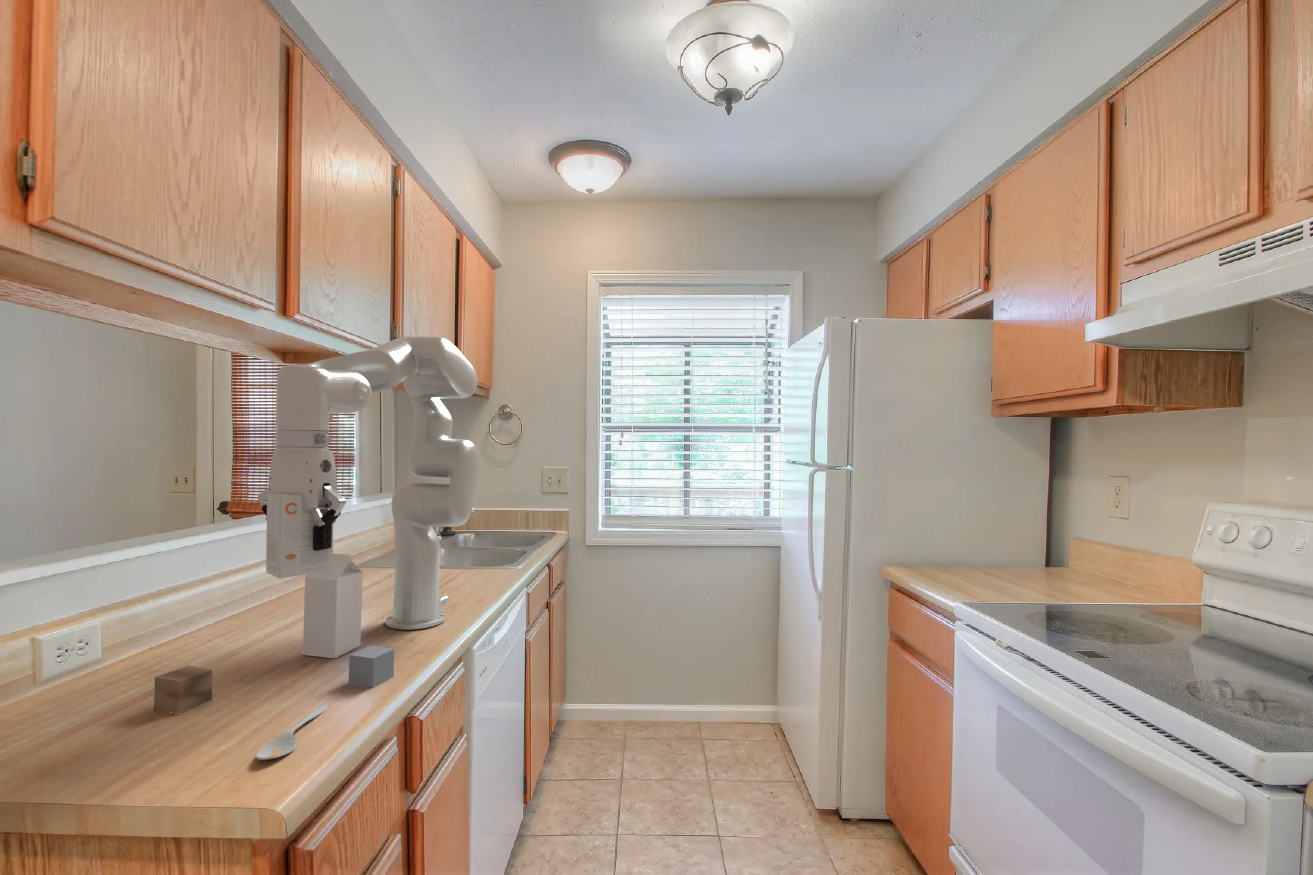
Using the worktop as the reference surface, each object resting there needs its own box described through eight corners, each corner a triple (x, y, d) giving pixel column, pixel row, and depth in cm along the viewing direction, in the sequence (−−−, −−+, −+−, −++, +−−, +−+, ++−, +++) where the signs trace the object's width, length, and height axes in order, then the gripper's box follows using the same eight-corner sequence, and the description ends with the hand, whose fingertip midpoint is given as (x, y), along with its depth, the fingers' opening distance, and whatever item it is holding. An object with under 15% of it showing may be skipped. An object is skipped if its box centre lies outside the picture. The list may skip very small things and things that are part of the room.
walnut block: (187, 696, 95) (188, 665, 95) (211, 701, 94) (212, 669, 94) (153, 710, 90) (154, 677, 90) (178, 715, 89) (179, 681, 89)
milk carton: (334, 659, 112) (337, 558, 112) (302, 655, 114) (305, 556, 114) (360, 646, 119) (363, 551, 119) (329, 643, 121) (332, 549, 121)
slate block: (369, 673, 106) (370, 645, 106) (393, 677, 105) (394, 648, 105) (348, 684, 101) (349, 654, 101) (373, 688, 100) (373, 658, 100)
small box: (318, 565, 103) (319, 489, 103) (333, 571, 99) (335, 492, 99) (264, 572, 97) (266, 492, 97) (278, 579, 93) (280, 495, 93)
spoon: (244, 771, 75) (244, 758, 75) (318, 700, 96) (319, 689, 96) (279, 770, 76) (279, 757, 76) (345, 699, 96) (346, 689, 96)
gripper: (363, 442, 99) (361, 547, 99) (280, 440, 104) (278, 540, 104) (327, 442, 92) (324, 555, 92) (240, 440, 97) (237, 547, 97)
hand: (300, 546), depth 98 cm, fingers closed on small box, 8 cm apart
